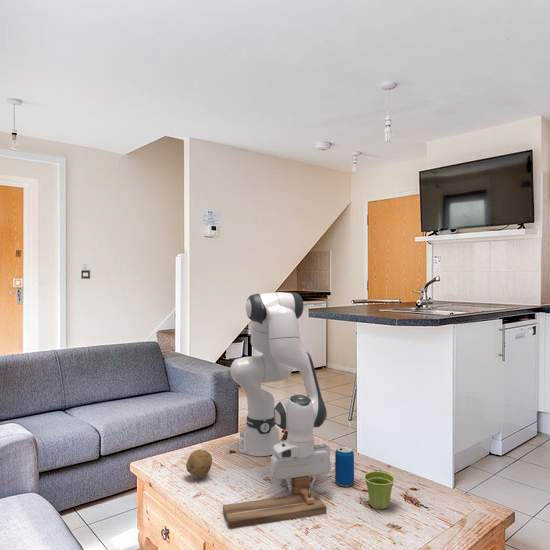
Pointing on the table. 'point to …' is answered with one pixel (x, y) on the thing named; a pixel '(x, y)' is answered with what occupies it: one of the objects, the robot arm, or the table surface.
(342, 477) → the beverage can
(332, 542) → the table surface
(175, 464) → the table surface
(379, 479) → the plant pot
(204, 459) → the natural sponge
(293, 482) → the wooden chest hasp
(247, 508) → the plank
